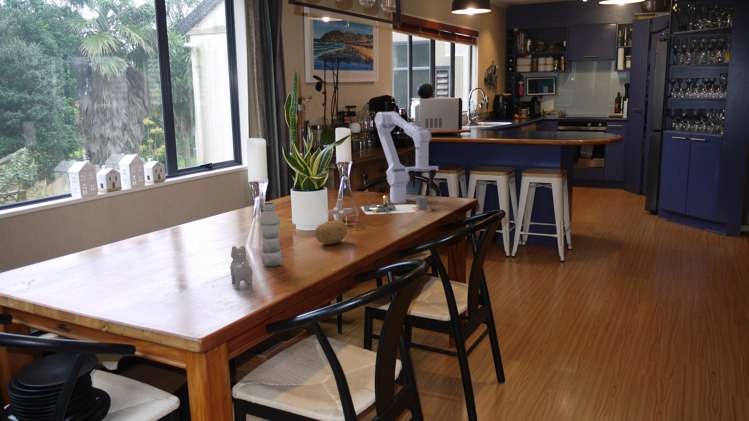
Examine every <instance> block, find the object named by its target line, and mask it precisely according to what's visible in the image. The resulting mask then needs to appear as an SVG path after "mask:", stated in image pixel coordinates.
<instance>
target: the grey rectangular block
mask: <svg viewBox="0 0 749 421" xmlns="http://www.w3.org/2000/svg"><path fill="white" fill-rule="evenodd" d="M415 204H416V207H417V208H418V209H419V210H425V209H427V207H428V198H427V197H426V196H425V195H416V196H415Z"/></svg>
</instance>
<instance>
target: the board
mask: <svg viewBox="0 0 749 421" xmlns="http://www.w3.org/2000/svg"><path fill="white" fill-rule="evenodd" d="M389 205H390V204H389ZM391 205H392V204H391ZM391 205H390V206H391ZM394 205H395V208H396V211H389V213H385V212H377V213H373V212H371V211H367V212H365V211H364V206H360V209H361V210H362V211H363V213H364V214H365V215H383V214H387V215H388V214H401V213H403V214H406V213H425V212H426V213H427V212H432V209H431V208H430V207H429V206H427V209H425V210H419V209H418V208H417V207H416V203H415V204H414V203H413V204H394Z"/></svg>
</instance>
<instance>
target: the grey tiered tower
mask: <svg viewBox="0 0 749 421" xmlns="http://www.w3.org/2000/svg"><path fill="white" fill-rule="evenodd" d="M275 210H276V204H275V202H264V203H263V204H262V211H263V212H262V213H261V215H260V217H259V220H258V223H259V227H260V234H261V240H262V241H261V244H262V247H261V256H260V257H261V262H262V264H263V265H264V266H266V267H276V266H280V265H281V263H282V262H283V253H282V251H281V243H280V227H281V219H280V216H279V215H278V213H277V211H275Z"/></svg>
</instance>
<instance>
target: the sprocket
mask: <svg viewBox="0 0 749 421" xmlns="http://www.w3.org/2000/svg"><path fill="white" fill-rule="evenodd" d="M382 197H383V198H382V199H383V203H382V204H375V203H374V204H373V203H372V204H370V205H363V207H364V211H365V212H367V211H371V212H373V213H377V212H385V213H387V214H390V213H389V211H396V208H395V205H396V204H393V205H392V204H391V206H390V204H389V195H383V196H382ZM364 211H363V212H364ZM365 212H364V213H365Z"/></svg>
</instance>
